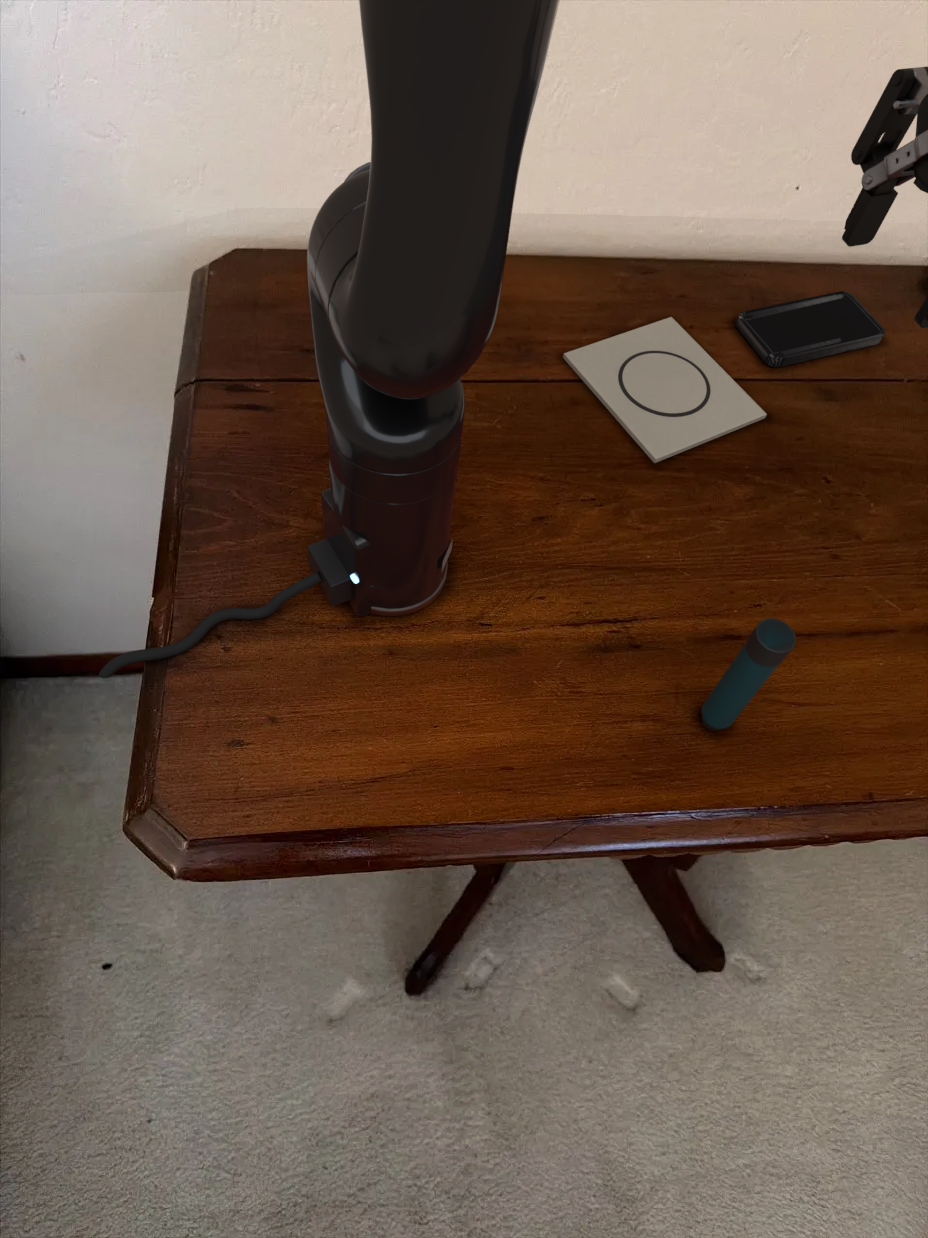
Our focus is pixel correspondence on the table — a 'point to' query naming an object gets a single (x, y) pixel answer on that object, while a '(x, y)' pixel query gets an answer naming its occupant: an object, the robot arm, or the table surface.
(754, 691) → the marker
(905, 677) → the table surface
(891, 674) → the table surface
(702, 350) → the sketch pad
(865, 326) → the phone
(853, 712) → the table surface
